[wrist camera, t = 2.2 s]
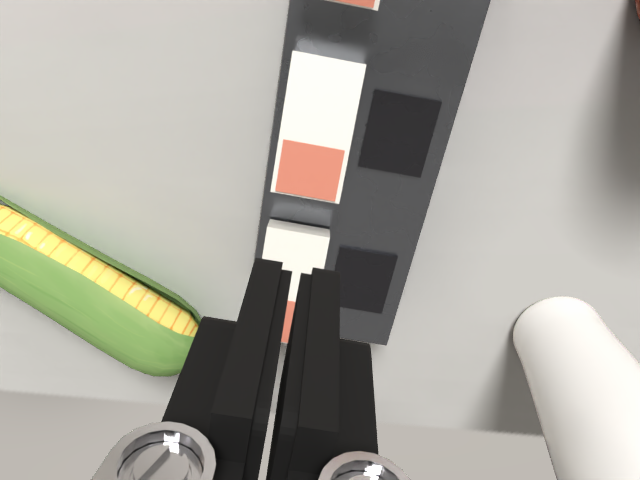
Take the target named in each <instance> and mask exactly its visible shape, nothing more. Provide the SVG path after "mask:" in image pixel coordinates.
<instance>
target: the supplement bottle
mask: <svg viewBox="0 0 640 480" xmlns="http://www.w3.org/2000/svg"><path fill="white" fill-rule="evenodd" d="M635 3H636V9H637V15H638V17H639V20H640V0H635Z"/></svg>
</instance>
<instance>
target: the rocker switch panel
mask: <svg viewBox="0 0 640 480" xmlns="http://www.w3.org/2000/svg"><path fill="white" fill-rule="evenodd" d="M489 4H490V0H380V3H379V8H378V11H376V10H371V9H366V8H361V7H356V6H351V5H346V4H341V3H336V2H330V1H325V0H289V7H288V15H287V22H286V29H285V37H284V44H283V51H282V59H281V66H280V73H279V81H278V88H277V95H276V103H275V110H274V117H273V125H272V132H271V140H270V147H269V154H268V162H267V169H266V176H265V184H264V191H263V198H262V206H261V213H260V220H259V228H258V235H257V242H256V250H255V257H254V261H255V258H262V255H263V249H264V243H265V236H266V230H267V226H268V223H269V220H270V219H273V220H279V221H285V222H290V223H296V224H302V225H307V226H313V227H319V228H324V229H330V240H329V245H328V250H327V256H326V261H325V266H324V269H326V270H332V271H338V272H340V338H345V339H351V340H357V341H363V342H369V343H375V344H381V345H387V342H388V339H389V335H390V332H391V329H392V325H393V322H394V319H395V315H396V312H397V309H398V305H399V302H400V299H401V295H402V292H403V289H404V286H405V282H406V279H407V276H408V272H409V269H410V266H411V262H412V259H413V256H414V252H415V249H416V246H417V242H418V239H419V236H420V232H421V229H422V226H423V223H424V219H425V216H426V213H427V209H428V206H429V203H430V199H431V196H432V193H433V189H434V186H435V183H436V179H437V176H438V173H439V170H440V166H441V163H442V160H443V156H444V153H445V150H446V146H447V143H448V140H449V136H450V133H451V130H452V126H453V123H454V120H455V116H456V113H457V110H458V107H459V103H460V100H461V97H462V93H463V90H464V87H465V83H466V80H467V77H468V73H469V70H470V67H471V63H472V60H473V57H474V53H475V50H476V47H477V44H478V40H479V37H480V34H481V30H482V27H483V24H484V20H485V17H486V14H487V10H488V7H489ZM292 51H298V52H304V53H309V54H314V55H319V56H324V57H330V58H335V59H340V60H345V61H351V62H356V63H361V64H366V69H365V75H364V80H363V85H362V90H361V95H360V100H359V105H358V110H357V115H356V121H355V126H354V131H353V136H352V141H351V146H350V151H349V156H348V161H347V167H346V172H345V177H344V182H343V187H342V192H341V197H340V202H339V204H336V203H331V202H325V201H319V200H314V199H308V198H303V197H297V196H291V195H286V194H280V193H275V192H270V191H271V184H272V178H273V171H274V165H275V159H276V152H277V146H278V140H279V133H280V127H281V121H282V114H283V108H284V102H285V95H286V89H287V82H288V76H289V70H290V63H291V57H292ZM253 265H254V264H253Z"/></svg>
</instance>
